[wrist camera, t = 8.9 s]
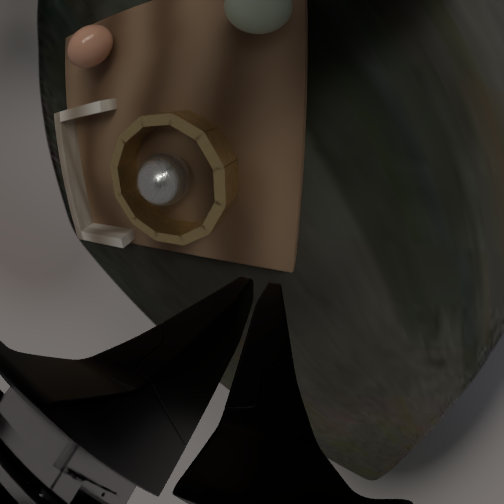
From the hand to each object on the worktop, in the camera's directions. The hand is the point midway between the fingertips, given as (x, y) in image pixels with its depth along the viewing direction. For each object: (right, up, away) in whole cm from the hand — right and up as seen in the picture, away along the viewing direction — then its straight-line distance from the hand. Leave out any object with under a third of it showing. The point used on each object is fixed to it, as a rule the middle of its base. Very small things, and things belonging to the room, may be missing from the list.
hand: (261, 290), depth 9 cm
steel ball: (-7, +7, +10) cm, 14 cm away
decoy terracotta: (-13, +18, +6) cm, 23 cm away
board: (-7, +12, +12) cm, 18 cm away
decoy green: (0, +16, +2) cm, 16 cm away
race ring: (-6, +7, +12) cm, 15 cm away
